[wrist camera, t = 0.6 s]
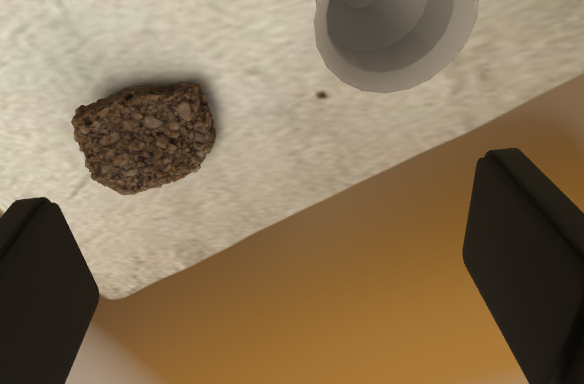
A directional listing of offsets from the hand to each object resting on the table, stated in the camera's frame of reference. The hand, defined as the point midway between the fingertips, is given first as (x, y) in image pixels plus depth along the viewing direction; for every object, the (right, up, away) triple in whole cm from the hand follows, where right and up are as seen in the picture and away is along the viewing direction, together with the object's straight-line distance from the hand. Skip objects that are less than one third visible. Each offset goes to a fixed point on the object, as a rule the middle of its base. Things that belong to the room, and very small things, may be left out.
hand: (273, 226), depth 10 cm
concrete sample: (-12, +7, +31) cm, 34 cm away
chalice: (+4, +19, +24) cm, 31 cm away
